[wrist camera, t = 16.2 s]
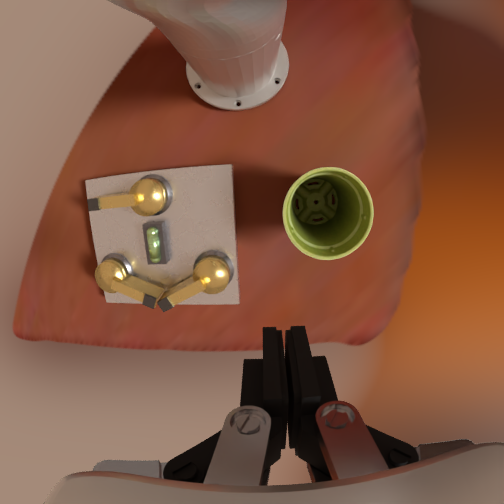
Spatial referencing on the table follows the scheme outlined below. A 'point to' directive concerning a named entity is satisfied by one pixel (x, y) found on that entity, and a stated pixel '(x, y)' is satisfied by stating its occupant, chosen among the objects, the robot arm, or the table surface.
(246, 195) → the table surface
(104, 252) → the base plate
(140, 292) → the knob
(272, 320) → the table surface
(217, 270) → the knob
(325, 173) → the plant pot
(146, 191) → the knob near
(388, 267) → the table surface
